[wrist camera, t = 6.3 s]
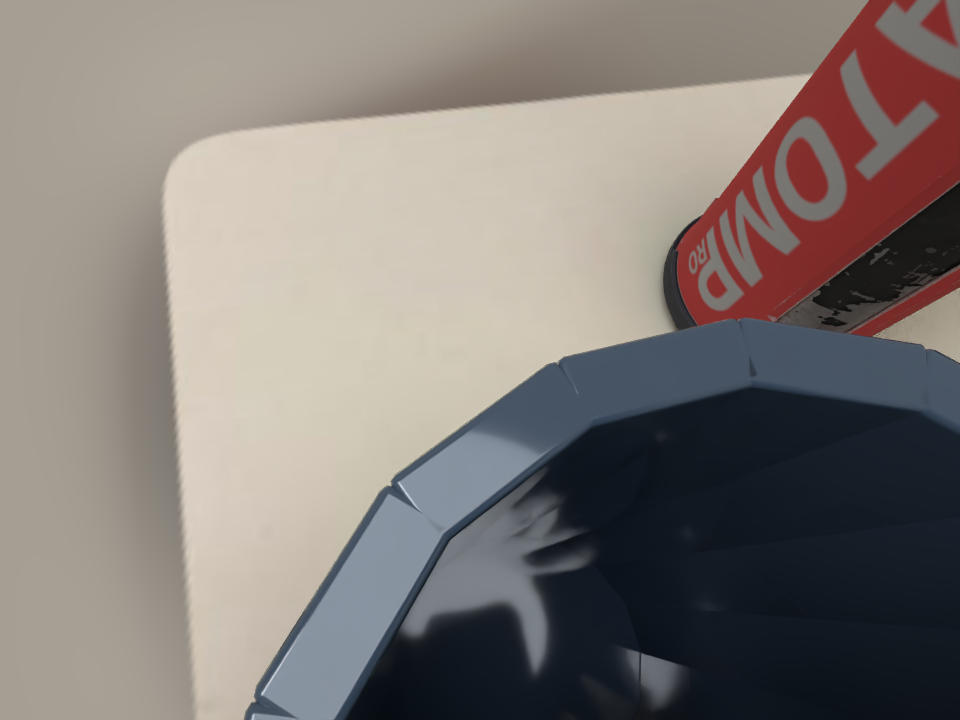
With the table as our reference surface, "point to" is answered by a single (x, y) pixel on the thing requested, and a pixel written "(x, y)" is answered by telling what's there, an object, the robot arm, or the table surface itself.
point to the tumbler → (660, 545)
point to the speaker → (842, 190)
